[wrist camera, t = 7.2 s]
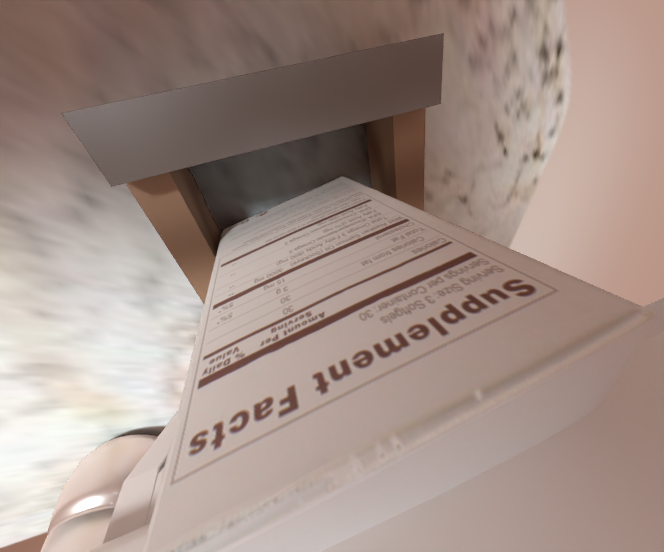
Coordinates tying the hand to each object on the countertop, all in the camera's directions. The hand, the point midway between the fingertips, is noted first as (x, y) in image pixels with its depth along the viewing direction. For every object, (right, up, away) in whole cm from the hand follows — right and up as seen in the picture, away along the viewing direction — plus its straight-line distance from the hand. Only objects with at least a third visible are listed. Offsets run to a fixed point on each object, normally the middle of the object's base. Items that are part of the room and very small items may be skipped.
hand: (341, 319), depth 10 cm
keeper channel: (-1, +1, +7) cm, 8 cm away
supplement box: (-2, +3, +5) cm, 7 cm away
